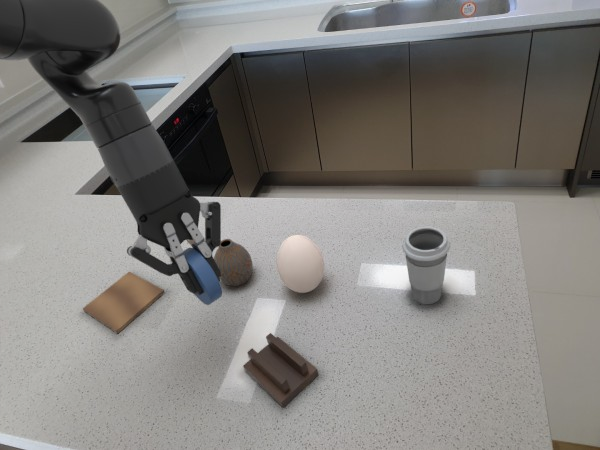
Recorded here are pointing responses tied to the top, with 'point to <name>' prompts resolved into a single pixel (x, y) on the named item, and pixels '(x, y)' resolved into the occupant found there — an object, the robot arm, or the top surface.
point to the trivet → (123, 301)
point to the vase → (233, 263)
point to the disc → (203, 276)
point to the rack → (280, 370)
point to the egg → (300, 264)
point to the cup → (426, 262)
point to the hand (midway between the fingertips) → (207, 286)
